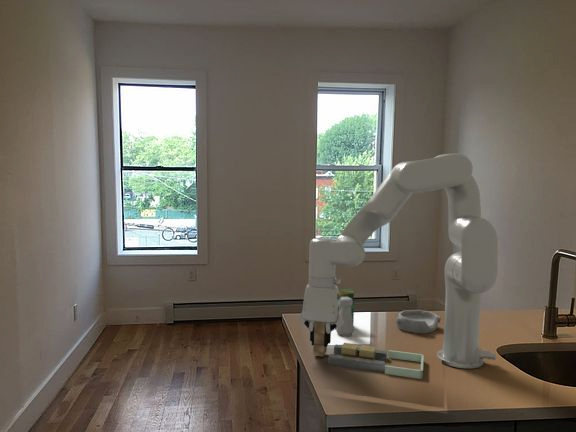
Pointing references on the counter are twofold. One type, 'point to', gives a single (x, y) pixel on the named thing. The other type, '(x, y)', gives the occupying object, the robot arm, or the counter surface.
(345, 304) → the salt shaker
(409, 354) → the tray
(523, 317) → the counter surface
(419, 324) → the dish
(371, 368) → the slot board
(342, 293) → the coffee box
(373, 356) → the chip
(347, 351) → the tan cube
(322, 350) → the tan gable carton
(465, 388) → the counter surface
